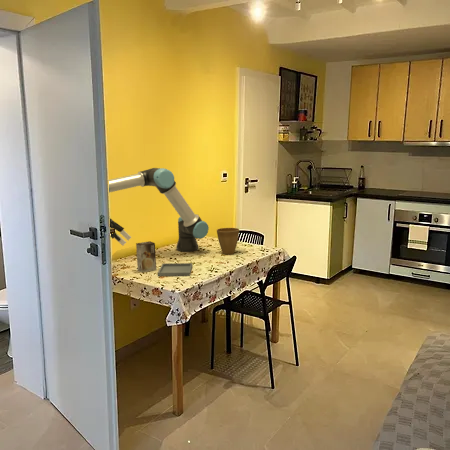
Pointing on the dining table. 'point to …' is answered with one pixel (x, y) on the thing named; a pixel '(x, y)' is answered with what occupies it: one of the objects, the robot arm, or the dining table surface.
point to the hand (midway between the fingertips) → (127, 241)
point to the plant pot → (228, 239)
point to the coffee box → (146, 256)
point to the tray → (175, 269)
